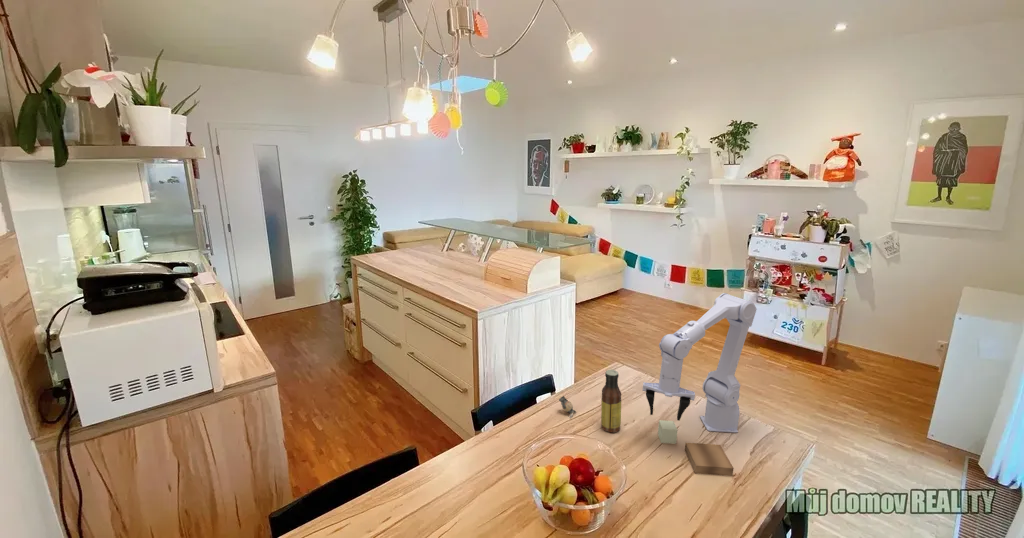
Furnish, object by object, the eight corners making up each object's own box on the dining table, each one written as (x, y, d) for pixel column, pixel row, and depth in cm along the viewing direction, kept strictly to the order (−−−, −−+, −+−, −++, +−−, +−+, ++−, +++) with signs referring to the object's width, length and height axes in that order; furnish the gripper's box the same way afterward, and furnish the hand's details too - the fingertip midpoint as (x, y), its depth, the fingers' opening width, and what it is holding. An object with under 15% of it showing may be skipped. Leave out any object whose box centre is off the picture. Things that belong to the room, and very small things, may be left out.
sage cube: (672, 434, 136) (673, 421, 135) (676, 443, 132) (677, 429, 131) (657, 434, 137) (659, 420, 135) (661, 443, 132) (662, 428, 131)
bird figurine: (555, 415, 147) (556, 398, 146) (562, 408, 151) (563, 392, 150) (570, 419, 144) (571, 403, 143) (576, 412, 149) (577, 396, 148)
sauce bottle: (621, 424, 142) (625, 369, 137) (619, 435, 136) (623, 378, 131) (601, 420, 144) (604, 366, 139) (598, 431, 138) (601, 375, 133)
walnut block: (719, 453, 128) (720, 444, 127) (732, 477, 119) (733, 468, 118) (684, 451, 129) (685, 442, 128) (694, 474, 120) (696, 465, 119)
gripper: (644, 375, 125) (639, 417, 128) (698, 385, 120) (691, 428, 123) (645, 365, 131) (640, 405, 134) (696, 374, 127) (690, 415, 130)
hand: (664, 416), depth 129 cm, fingers open, 7 cm apart
